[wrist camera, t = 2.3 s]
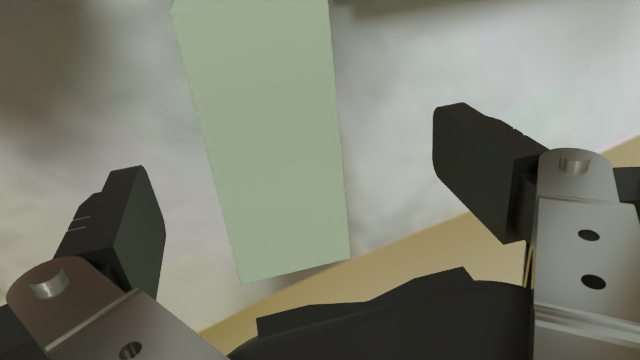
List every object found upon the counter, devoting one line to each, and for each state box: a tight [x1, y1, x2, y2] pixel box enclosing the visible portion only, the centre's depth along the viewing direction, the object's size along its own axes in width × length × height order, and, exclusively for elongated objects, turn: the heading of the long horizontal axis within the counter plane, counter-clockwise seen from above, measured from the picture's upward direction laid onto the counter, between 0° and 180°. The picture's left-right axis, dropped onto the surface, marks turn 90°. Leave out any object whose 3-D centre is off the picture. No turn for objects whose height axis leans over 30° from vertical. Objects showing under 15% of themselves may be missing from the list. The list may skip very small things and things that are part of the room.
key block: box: [170, 0, 351, 285], centre depth 17 cm, size 4×9×9 cm, turn 7°
